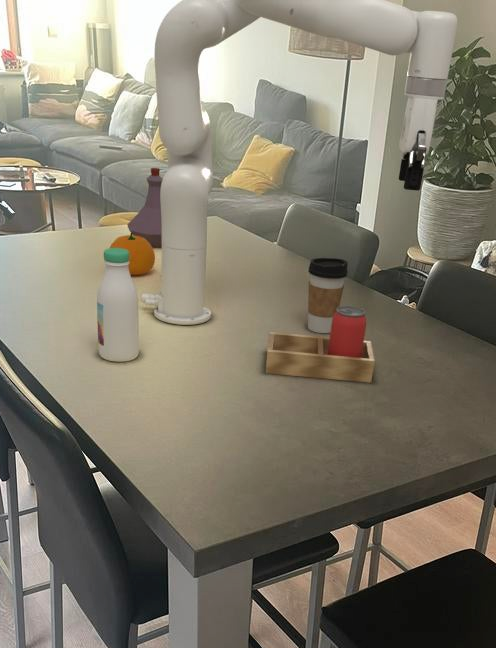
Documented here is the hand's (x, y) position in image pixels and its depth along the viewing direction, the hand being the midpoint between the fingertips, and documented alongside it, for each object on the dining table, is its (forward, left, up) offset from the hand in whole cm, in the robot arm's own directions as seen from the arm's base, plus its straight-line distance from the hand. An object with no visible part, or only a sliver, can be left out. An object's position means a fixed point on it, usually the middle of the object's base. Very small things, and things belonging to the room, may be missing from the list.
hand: (408, 185), depth 156 cm
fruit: (-62, +30, -31) cm, 76 cm away
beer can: (-10, -23, -31) cm, 40 cm away
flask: (-61, +60, -31) cm, 91 cm away
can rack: (-15, -23, -31) cm, 42 cm away
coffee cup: (-14, 0, -31) cm, 34 cm away
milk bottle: (-54, -26, -31) cm, 68 cm away
